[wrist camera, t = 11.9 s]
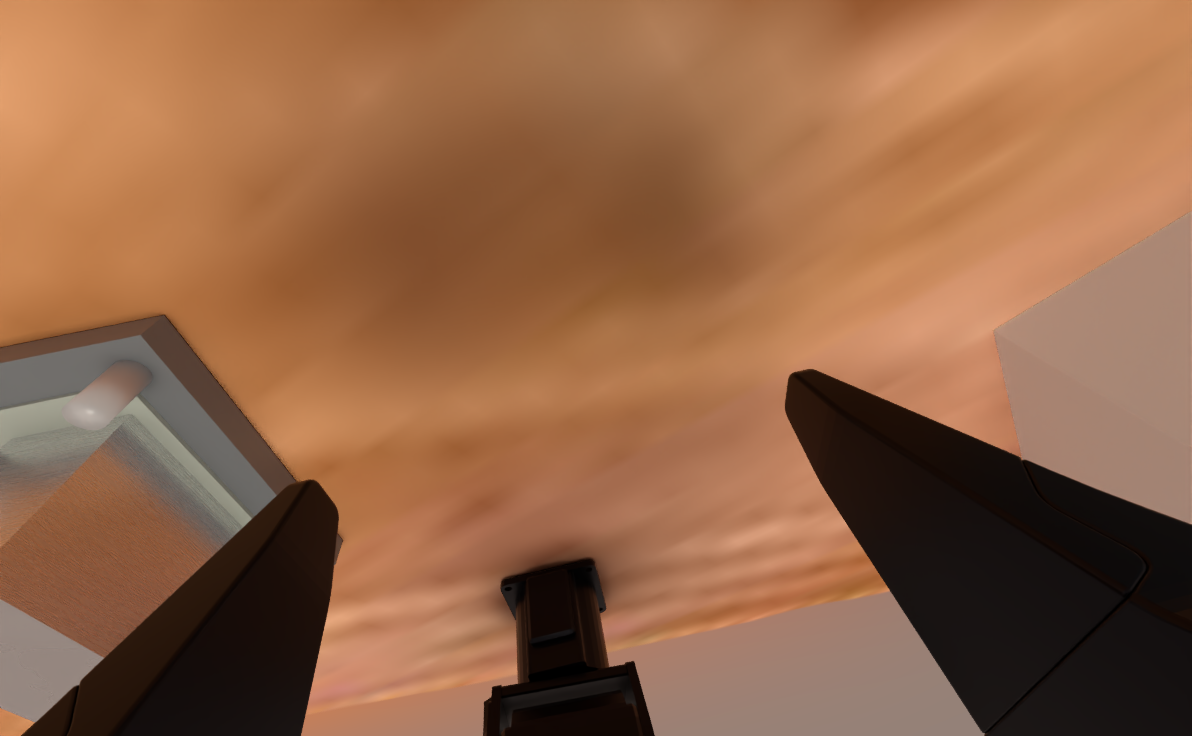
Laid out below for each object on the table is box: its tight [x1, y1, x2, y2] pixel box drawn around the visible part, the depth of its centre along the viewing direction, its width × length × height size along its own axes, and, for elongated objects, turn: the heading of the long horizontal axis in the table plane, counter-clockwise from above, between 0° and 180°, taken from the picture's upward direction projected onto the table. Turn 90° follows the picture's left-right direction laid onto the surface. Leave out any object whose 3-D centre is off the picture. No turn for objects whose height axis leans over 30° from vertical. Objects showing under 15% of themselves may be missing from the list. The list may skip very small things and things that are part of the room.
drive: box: [0, 414, 243, 722], centre depth 18 cm, size 9×5×7 cm, turn 8°
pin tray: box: [0, 315, 343, 565], centre depth 21 cm, size 15×9×4 cm, turn 8°
